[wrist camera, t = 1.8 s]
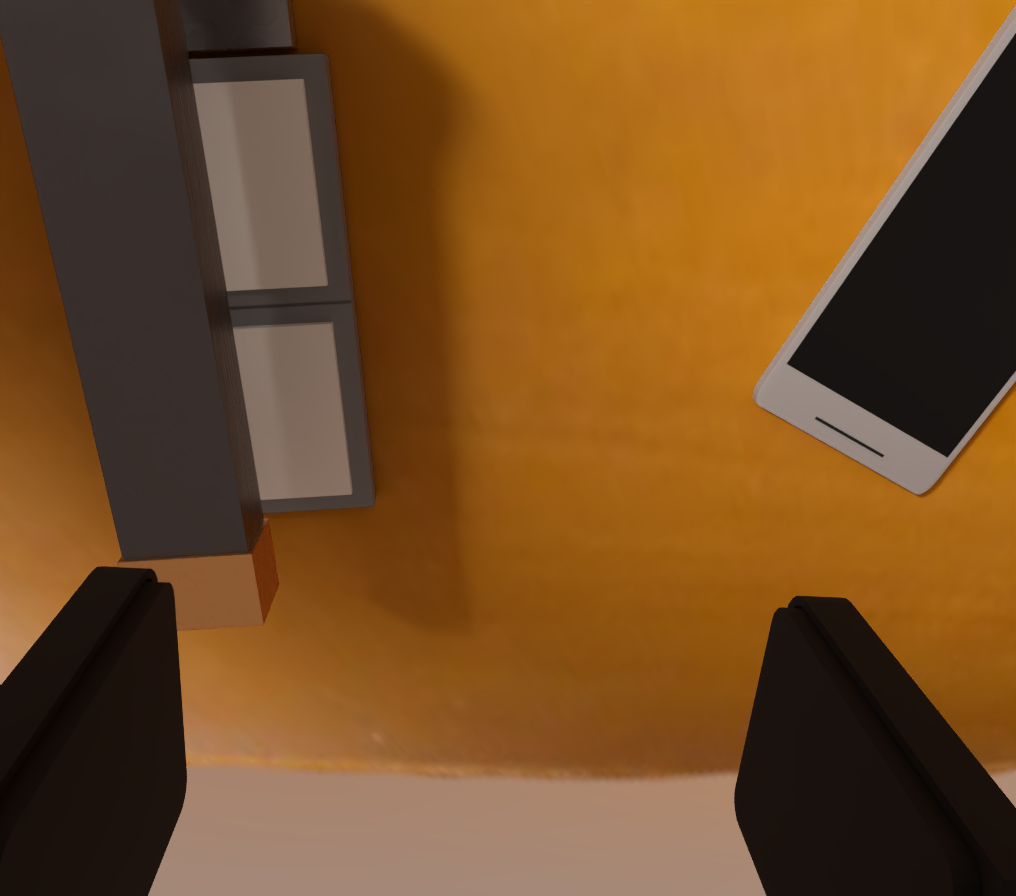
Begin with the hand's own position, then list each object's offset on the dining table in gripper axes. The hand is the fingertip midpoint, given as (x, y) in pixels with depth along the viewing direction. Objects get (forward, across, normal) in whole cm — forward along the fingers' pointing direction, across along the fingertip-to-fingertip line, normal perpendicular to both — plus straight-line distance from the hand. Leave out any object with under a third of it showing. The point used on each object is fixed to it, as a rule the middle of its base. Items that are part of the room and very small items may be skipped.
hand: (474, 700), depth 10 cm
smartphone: (+18, -16, -4) cm, 24 cm away
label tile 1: (+18, +7, +3) cm, 19 cm away
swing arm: (+13, +7, -3) cm, 15 cm away
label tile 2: (+18, +8, -4) cm, 20 cm away
